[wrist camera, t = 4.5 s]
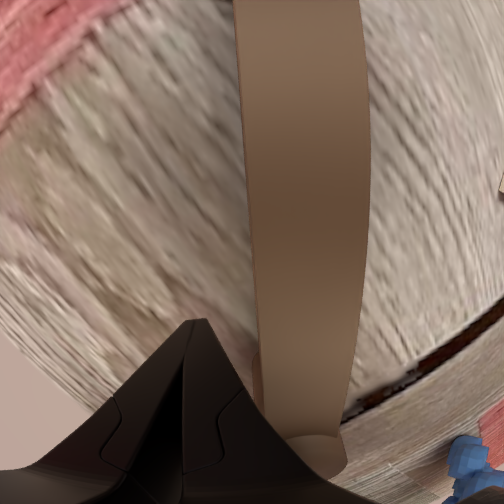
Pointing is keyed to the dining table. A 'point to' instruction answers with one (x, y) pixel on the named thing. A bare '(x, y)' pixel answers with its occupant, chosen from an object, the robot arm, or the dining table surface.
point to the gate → (305, 210)
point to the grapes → (470, 468)
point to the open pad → (502, 185)
